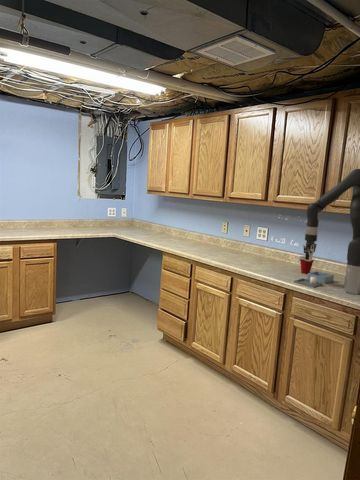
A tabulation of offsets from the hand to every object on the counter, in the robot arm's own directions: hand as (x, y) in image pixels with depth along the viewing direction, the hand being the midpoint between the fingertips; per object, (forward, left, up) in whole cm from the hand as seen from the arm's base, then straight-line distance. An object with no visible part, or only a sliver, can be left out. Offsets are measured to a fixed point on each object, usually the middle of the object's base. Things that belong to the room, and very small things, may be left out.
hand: (308, 259), depth 240 cm
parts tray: (-3, +3, -16) cm, 16 cm away
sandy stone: (0, 0, -1) cm, 1 cm away
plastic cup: (+14, -25, -16) cm, 33 cm away
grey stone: (-6, +3, -16) cm, 17 cm away
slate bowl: (-3, -14, -16) cm, 22 cm away
